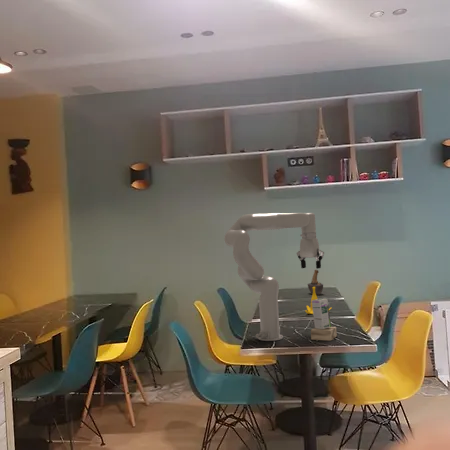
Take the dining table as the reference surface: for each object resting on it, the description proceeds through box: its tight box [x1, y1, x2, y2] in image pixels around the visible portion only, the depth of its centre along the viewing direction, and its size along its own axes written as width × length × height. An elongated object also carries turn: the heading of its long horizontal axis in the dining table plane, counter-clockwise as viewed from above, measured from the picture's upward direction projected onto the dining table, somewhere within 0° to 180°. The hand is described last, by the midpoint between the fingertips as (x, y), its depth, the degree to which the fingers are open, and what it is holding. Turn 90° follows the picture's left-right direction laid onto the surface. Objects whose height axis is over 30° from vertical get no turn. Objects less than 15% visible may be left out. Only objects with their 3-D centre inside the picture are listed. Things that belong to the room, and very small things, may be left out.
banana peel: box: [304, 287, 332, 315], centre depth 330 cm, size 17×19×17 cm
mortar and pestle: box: [307, 269, 324, 296], centre depth 412 cm, size 15×17×20 cm
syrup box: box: [312, 297, 332, 329], centre depth 258 cm, size 6×6×14 cm
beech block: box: [310, 326, 338, 341], centre depth 257 cm, size 10×10×5 cm
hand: (311, 268), depth 275 cm, fingers open, 9 cm apart
